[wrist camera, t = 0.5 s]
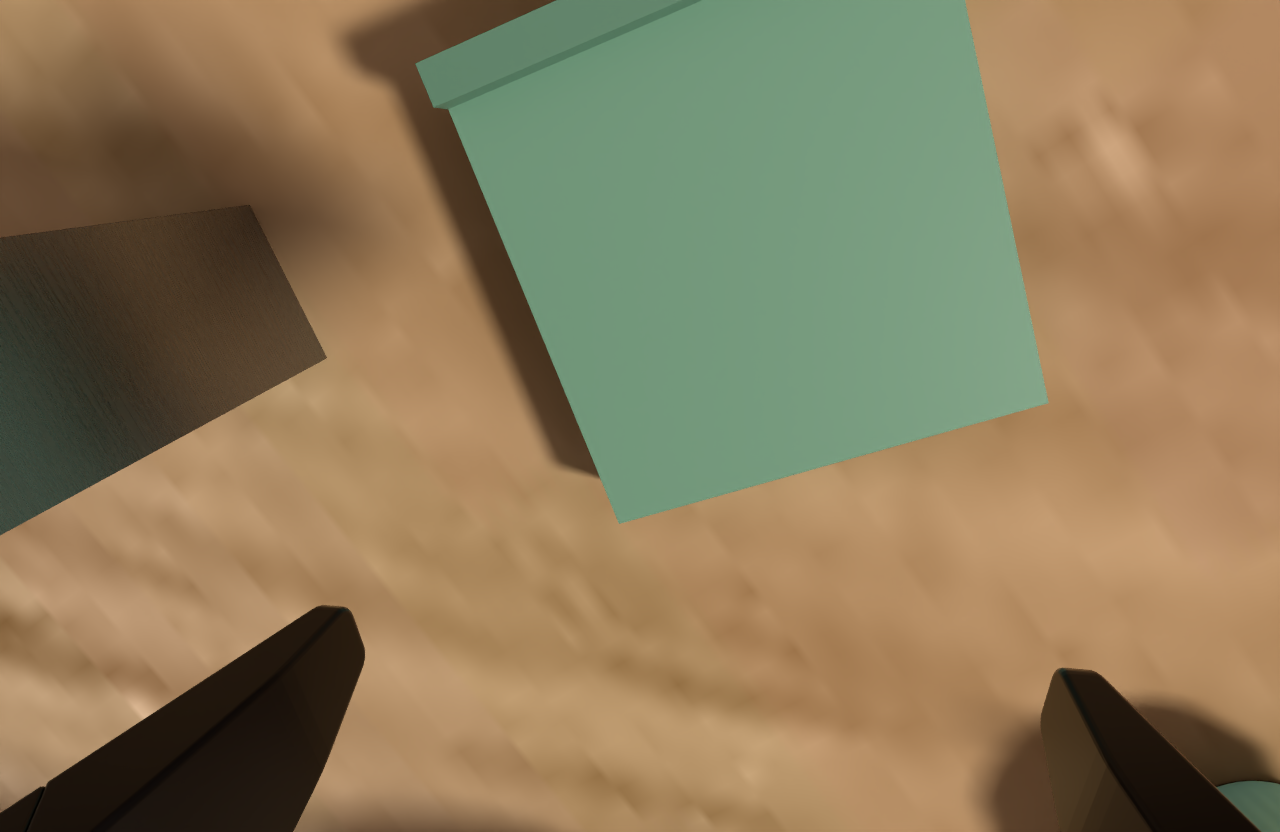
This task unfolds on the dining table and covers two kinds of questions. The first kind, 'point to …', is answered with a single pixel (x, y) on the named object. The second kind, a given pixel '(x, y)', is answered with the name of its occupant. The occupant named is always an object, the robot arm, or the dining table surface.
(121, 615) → the dining table surface
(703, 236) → the coupler stand
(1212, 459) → the dining table surface
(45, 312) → the block
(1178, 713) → the dining table surface
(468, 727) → the dining table surface
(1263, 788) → the cupcake
